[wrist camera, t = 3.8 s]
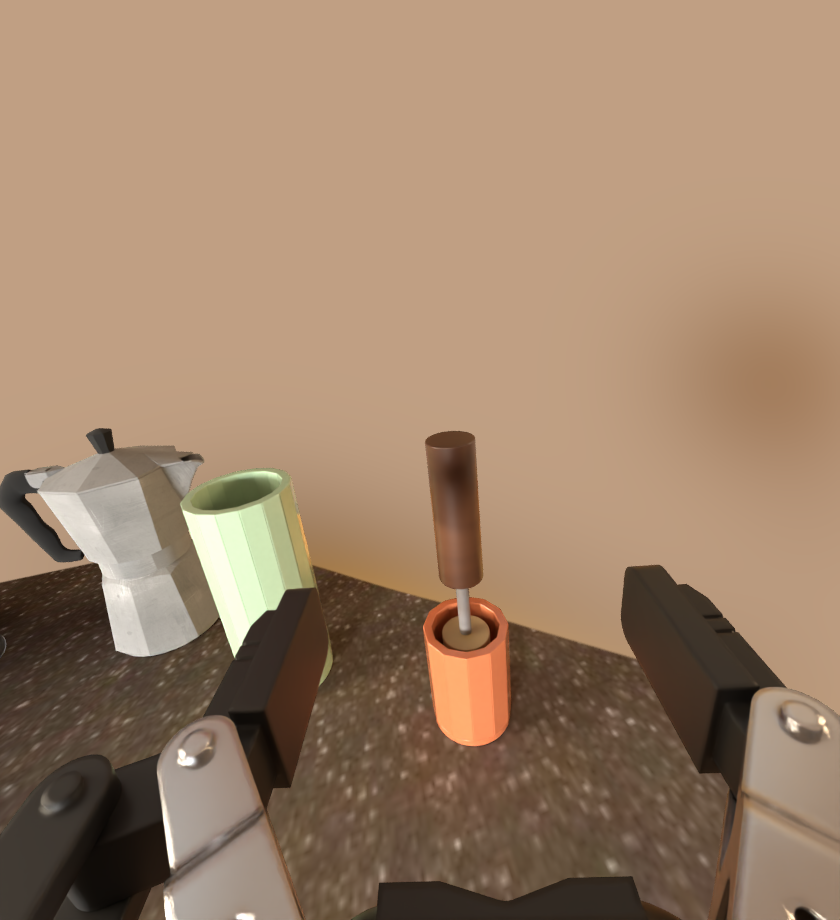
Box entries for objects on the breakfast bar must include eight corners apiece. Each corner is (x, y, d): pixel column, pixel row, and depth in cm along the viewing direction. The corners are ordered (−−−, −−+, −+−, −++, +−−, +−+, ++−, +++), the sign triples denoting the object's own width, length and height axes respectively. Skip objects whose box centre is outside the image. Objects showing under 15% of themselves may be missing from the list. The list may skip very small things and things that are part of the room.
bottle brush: (485, 680, 29) (468, 426, 22) (500, 718, 26) (487, 443, 20) (445, 690, 29) (415, 435, 22) (456, 730, 26) (427, 453, 19)
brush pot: (494, 670, 30) (490, 590, 28) (522, 734, 26) (521, 646, 23) (427, 687, 30) (416, 606, 27) (445, 756, 25) (434, 667, 23)
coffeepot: (259, 574, 44) (208, 402, 37) (235, 644, 35) (163, 436, 28) (100, 600, 43) (17, 427, 36) (34, 680, 34) (-92, 471, 27)
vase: (332, 627, 36) (293, 461, 30) (333, 693, 30) (285, 502, 24) (252, 646, 35) (197, 477, 29) (238, 717, 29) (164, 524, 23)
